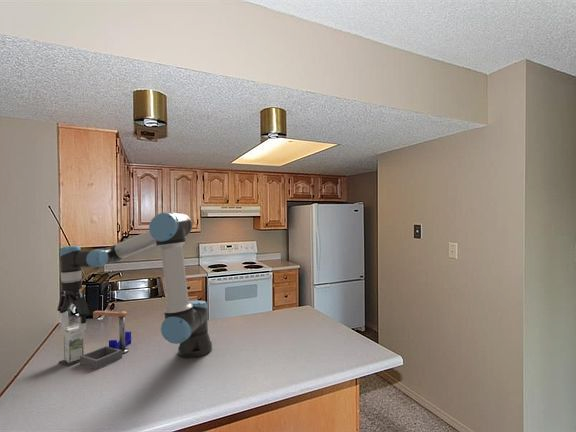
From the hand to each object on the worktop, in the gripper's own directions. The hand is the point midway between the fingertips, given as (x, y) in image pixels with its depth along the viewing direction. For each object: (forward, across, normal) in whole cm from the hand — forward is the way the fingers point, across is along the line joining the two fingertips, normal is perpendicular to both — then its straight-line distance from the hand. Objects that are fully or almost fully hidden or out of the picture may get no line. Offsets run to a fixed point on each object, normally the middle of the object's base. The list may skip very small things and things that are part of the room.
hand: (73, 328), depth 138 cm
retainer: (-1, -5, -13) cm, 14 cm away
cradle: (+14, -11, -5) cm, 19 cm away
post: (+14, -11, -15) cm, 24 cm away
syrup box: (+14, 0, 0) cm, 14 cm away
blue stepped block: (+15, -6, -17) cm, 23 cm away
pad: (+14, +1, 0) cm, 14 cm away
